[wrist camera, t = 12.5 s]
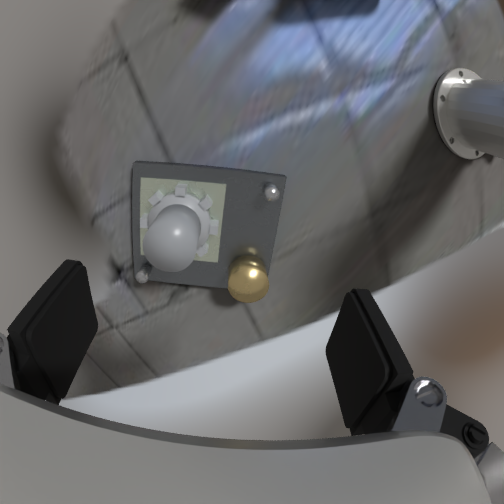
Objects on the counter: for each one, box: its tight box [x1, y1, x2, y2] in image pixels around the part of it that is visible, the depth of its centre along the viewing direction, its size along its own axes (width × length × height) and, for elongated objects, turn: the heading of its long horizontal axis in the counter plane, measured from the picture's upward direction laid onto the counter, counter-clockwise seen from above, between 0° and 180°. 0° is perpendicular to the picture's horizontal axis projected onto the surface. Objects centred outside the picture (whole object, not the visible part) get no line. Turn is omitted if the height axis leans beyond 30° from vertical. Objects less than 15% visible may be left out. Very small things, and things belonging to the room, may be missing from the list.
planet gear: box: [140, 183, 219, 272], centre depth 28 cm, size 8×8×7 cm
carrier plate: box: [132, 161, 286, 303], centre depth 31 cm, size 16×14×4 cm
